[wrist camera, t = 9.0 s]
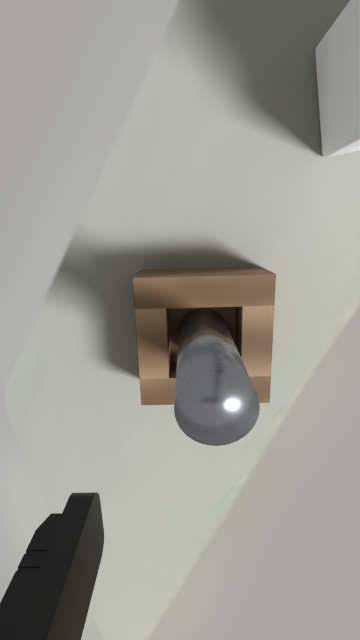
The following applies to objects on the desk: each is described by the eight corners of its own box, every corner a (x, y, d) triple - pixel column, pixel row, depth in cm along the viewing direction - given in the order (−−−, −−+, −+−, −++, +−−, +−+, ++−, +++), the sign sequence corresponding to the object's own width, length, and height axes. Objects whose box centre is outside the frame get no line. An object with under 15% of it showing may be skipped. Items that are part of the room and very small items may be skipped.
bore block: (140, 271, 26) (132, 278, 22) (262, 267, 26) (275, 274, 22) (147, 381, 29) (141, 405, 25) (258, 379, 29) (269, 402, 25)
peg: (178, 308, 26) (172, 371, 15) (227, 307, 26) (261, 369, 14) (179, 354, 27) (175, 446, 16) (226, 353, 27) (257, 444, 16)
